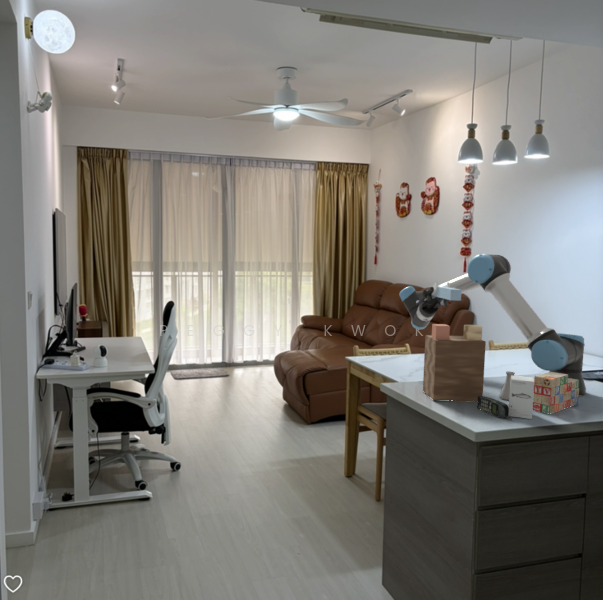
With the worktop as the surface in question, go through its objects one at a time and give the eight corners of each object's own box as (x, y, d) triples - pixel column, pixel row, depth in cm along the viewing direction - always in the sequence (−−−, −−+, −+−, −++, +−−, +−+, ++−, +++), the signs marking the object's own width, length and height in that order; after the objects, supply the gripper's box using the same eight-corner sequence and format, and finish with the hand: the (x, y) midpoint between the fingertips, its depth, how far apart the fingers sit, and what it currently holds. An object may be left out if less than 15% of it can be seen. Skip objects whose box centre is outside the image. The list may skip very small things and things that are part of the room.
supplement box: (507, 416, 185) (510, 378, 184) (508, 411, 192) (510, 374, 191) (532, 419, 182) (534, 381, 181) (532, 414, 189) (534, 376, 188)
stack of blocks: (561, 401, 208) (563, 368, 207) (578, 405, 203) (580, 371, 202) (532, 410, 194) (534, 375, 193) (549, 414, 189) (552, 378, 188)
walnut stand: (422, 391, 216) (425, 334, 215) (468, 392, 217) (471, 335, 216) (433, 401, 202) (436, 340, 201) (482, 401, 203) (485, 341, 202)
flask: (520, 401, 205) (522, 374, 204) (500, 400, 207) (501, 373, 206) (517, 397, 212) (519, 370, 212) (497, 395, 214) (498, 369, 213)
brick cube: (431, 337, 208) (432, 324, 208) (445, 337, 208) (445, 324, 208) (435, 339, 203) (436, 325, 203) (449, 339, 203) (449, 326, 203)
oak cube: (463, 338, 209) (464, 324, 208) (476, 338, 209) (477, 325, 209) (468, 340, 204) (468, 326, 203) (481, 340, 204) (482, 326, 204)
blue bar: (433, 295, 230) (433, 286, 229) (442, 296, 230) (443, 286, 230) (450, 300, 208) (450, 289, 207) (461, 300, 208) (461, 289, 208)
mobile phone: (476, 395, 194) (507, 405, 180) (483, 394, 195) (514, 404, 181) (475, 409, 194) (506, 420, 180) (482, 408, 195) (514, 419, 181)
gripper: (447, 317, 244) (465, 294, 223) (408, 317, 243) (422, 293, 222) (445, 302, 247) (462, 277, 226) (407, 301, 246) (420, 276, 225)
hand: (442, 285), depth 224 cm, fingers closed on blue bar, 4 cm apart
